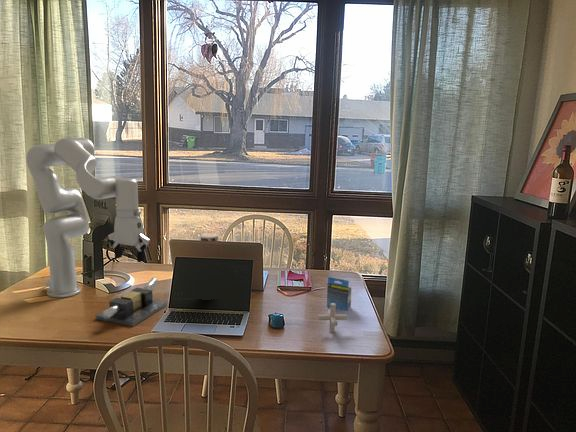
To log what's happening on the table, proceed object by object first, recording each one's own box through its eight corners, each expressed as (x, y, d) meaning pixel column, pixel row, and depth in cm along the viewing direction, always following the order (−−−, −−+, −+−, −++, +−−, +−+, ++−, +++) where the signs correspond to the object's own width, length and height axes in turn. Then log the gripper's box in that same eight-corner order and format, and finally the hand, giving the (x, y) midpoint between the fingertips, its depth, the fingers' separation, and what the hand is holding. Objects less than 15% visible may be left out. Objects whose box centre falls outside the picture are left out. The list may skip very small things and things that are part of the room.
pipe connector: (315, 325, 168) (316, 298, 166) (343, 324, 169) (344, 298, 167) (319, 337, 159) (320, 309, 156) (349, 337, 159) (350, 309, 157)
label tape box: (351, 307, 185) (352, 277, 182) (347, 311, 181) (348, 280, 179) (330, 303, 189) (331, 273, 186) (326, 306, 185) (327, 276, 183)
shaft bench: (87, 323, 165) (85, 299, 164) (139, 295, 192) (138, 274, 190) (125, 331, 160) (124, 306, 158) (173, 301, 187) (172, 279, 185)
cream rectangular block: (121, 314, 174) (120, 296, 172) (132, 308, 179) (131, 291, 178) (131, 316, 172) (131, 298, 171) (142, 310, 178) (141, 292, 176)
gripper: (154, 213, 169) (155, 259, 173) (114, 209, 175) (117, 254, 178) (141, 217, 162) (143, 265, 166) (100, 213, 168) (103, 259, 171)
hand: (129, 259), depth 172 cm, fingers open, 9 cm apart
